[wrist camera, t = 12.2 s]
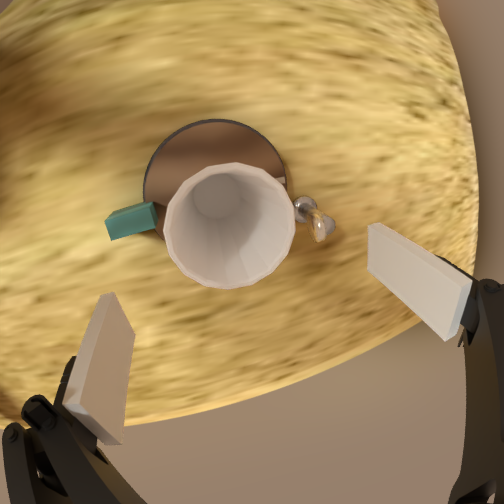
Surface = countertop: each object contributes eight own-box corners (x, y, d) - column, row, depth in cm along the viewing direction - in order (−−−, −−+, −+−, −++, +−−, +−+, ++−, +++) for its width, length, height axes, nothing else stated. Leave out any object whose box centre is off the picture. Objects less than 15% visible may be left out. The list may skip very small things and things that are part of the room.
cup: (196, 138, 29) (198, 138, 17) (272, 174, 32) (319, 199, 21) (160, 216, 32) (144, 265, 20) (235, 246, 35) (259, 305, 23)
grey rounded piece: (289, 198, 36) (316, 217, 29) (313, 193, 37) (345, 211, 29) (292, 224, 38) (319, 248, 30) (316, 218, 38) (347, 240, 31)
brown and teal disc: (98, 155, 28) (86, 158, 24) (271, 111, 31) (282, 108, 27) (138, 278, 35) (133, 294, 32) (291, 238, 38) (302, 251, 34)
